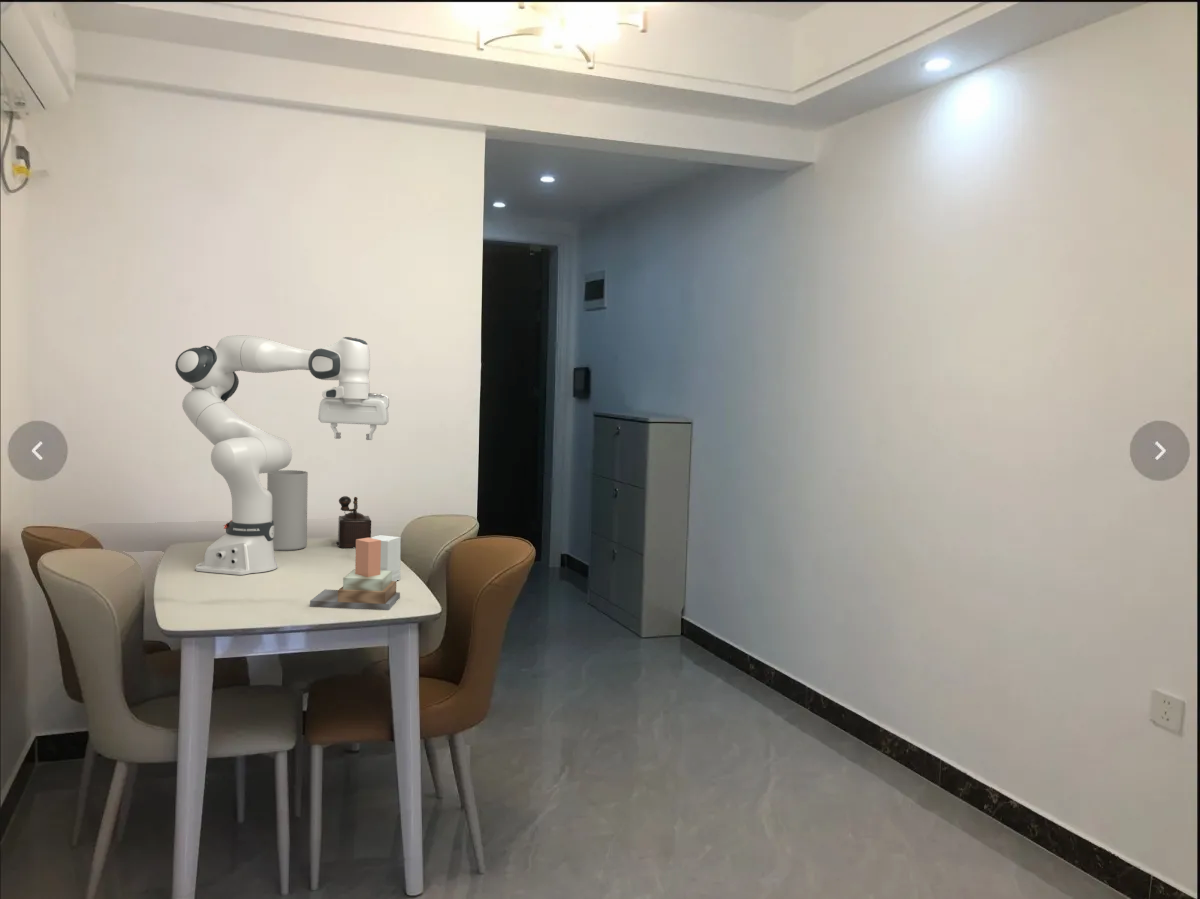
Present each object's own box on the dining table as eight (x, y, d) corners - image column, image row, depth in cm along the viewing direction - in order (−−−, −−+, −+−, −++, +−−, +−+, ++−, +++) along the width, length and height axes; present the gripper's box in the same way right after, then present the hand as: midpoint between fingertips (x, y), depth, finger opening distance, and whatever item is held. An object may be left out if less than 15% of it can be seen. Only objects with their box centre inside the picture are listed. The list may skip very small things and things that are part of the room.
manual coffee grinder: (335, 542, 311) (336, 490, 310) (368, 541, 315) (369, 490, 313) (337, 551, 296) (338, 497, 295) (372, 550, 300) (373, 496, 299)
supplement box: (401, 580, 261) (402, 536, 260) (386, 585, 254) (387, 540, 253) (378, 577, 263) (379, 534, 262) (364, 582, 256) (365, 538, 255)
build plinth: (309, 606, 229) (310, 577, 228) (324, 594, 241) (325, 567, 240) (388, 609, 229) (389, 580, 228) (399, 598, 241) (400, 570, 240)
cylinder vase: (284, 552, 291) (285, 475, 289) (258, 547, 298) (259, 472, 295) (314, 547, 302) (315, 472, 300) (288, 542, 308) (289, 469, 306)
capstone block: (367, 577, 231) (368, 542, 230) (355, 573, 234) (355, 539, 233) (380, 574, 234) (380, 540, 234) (367, 571, 237) (368, 537, 237)
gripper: (391, 393, 271) (390, 439, 273) (323, 391, 271) (322, 437, 273) (386, 394, 265) (385, 441, 266) (316, 391, 265) (316, 438, 266)
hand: (353, 439), depth 269 cm, fingers open, 8 cm apart
